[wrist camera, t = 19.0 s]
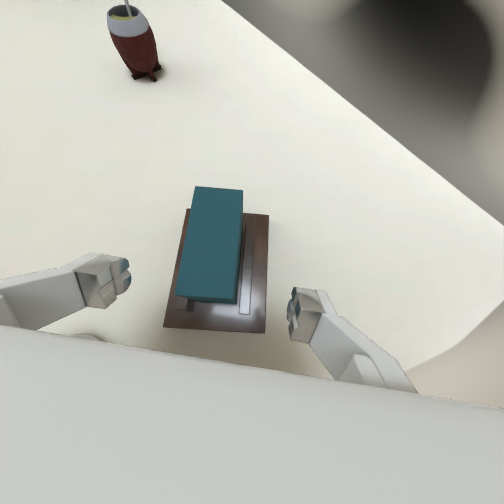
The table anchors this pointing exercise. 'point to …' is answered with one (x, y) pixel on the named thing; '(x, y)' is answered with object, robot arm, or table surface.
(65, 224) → the table surface
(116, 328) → the table surface
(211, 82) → the table surface
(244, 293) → the board
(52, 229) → the table surface
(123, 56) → the mate gourd
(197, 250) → the back pad
